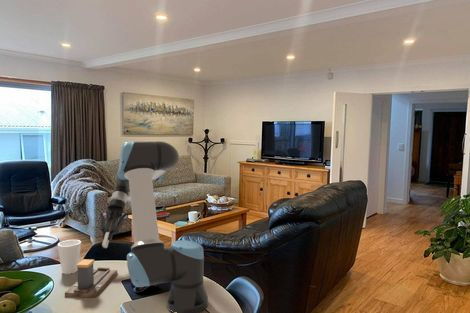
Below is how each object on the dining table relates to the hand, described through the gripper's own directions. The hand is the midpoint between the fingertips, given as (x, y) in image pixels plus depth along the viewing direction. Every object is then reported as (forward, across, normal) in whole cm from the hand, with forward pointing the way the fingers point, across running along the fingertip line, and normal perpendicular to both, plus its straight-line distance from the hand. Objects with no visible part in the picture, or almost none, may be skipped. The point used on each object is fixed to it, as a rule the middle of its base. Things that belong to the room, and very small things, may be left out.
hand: (104, 246), depth 154 cm
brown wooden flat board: (+17, 0, 0) cm, 17 cm away
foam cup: (+9, +16, -8) cm, 20 cm away
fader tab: (+20, 0, +6) cm, 21 cm away
